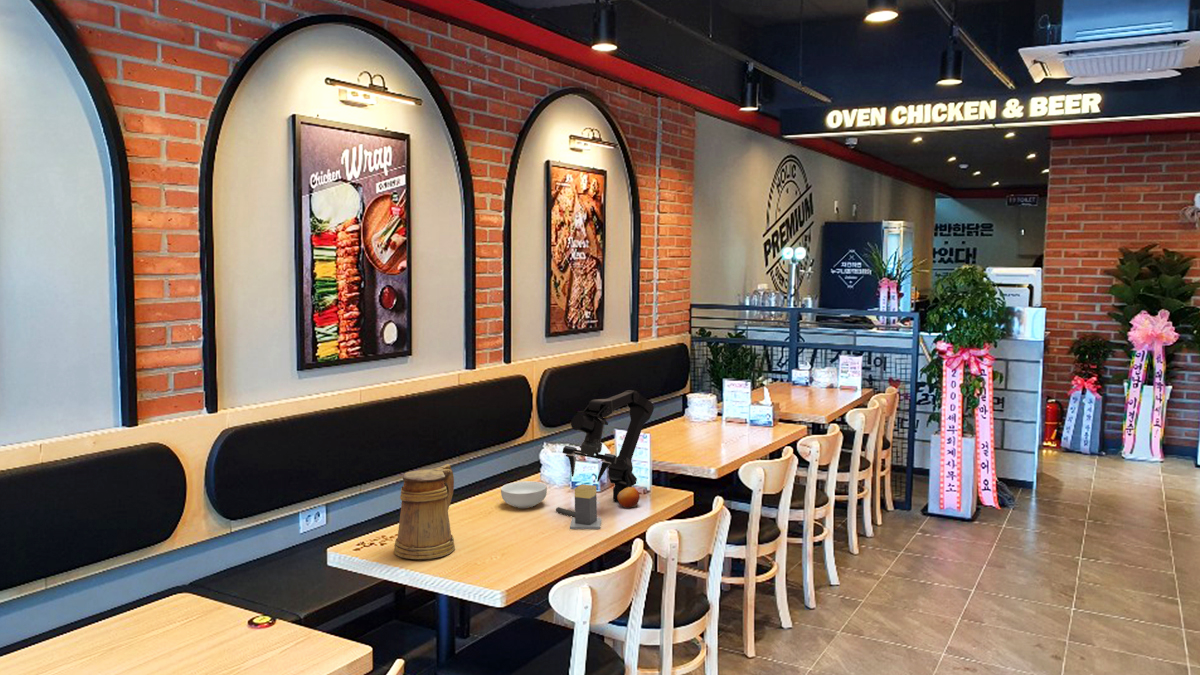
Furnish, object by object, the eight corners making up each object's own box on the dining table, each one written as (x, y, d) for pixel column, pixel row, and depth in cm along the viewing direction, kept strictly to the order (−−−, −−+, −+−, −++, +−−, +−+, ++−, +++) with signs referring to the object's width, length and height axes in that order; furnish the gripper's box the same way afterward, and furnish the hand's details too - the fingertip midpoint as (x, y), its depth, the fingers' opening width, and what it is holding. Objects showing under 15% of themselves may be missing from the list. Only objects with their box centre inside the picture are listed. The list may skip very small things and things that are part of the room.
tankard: (381, 556, 270) (379, 475, 268) (430, 534, 291) (427, 459, 289) (429, 565, 262) (427, 481, 260) (475, 542, 283) (473, 464, 281)
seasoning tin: (582, 518, 303) (581, 484, 302) (596, 520, 301) (596, 485, 300) (575, 523, 298) (574, 488, 297) (590, 525, 296) (589, 489, 295)
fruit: (645, 505, 317) (633, 486, 317) (626, 516, 318) (614, 497, 317) (644, 499, 325) (632, 480, 325) (626, 510, 326) (614, 491, 325)
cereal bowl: (504, 499, 333) (504, 480, 333) (549, 499, 332) (548, 480, 332) (497, 512, 316) (497, 492, 316) (544, 512, 316) (544, 492, 315)
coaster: (601, 520, 304) (601, 517, 304) (600, 529, 294) (600, 526, 294) (572, 520, 305) (572, 517, 304) (569, 529, 295) (569, 526, 295)
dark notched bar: (554, 512, 315) (554, 507, 315) (558, 511, 316) (558, 506, 316) (581, 520, 305) (581, 515, 305) (586, 519, 306) (585, 513, 306)
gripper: (564, 428, 308) (555, 472, 306) (617, 438, 306) (608, 483, 303) (569, 431, 319) (560, 474, 317) (620, 440, 316) (612, 484, 314)
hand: (585, 479), depth 312 cm, fingers open, 9 cm apart
